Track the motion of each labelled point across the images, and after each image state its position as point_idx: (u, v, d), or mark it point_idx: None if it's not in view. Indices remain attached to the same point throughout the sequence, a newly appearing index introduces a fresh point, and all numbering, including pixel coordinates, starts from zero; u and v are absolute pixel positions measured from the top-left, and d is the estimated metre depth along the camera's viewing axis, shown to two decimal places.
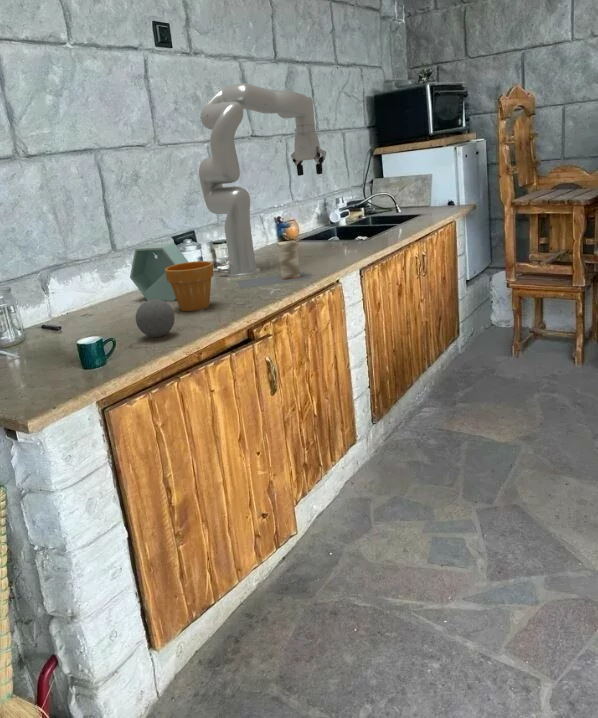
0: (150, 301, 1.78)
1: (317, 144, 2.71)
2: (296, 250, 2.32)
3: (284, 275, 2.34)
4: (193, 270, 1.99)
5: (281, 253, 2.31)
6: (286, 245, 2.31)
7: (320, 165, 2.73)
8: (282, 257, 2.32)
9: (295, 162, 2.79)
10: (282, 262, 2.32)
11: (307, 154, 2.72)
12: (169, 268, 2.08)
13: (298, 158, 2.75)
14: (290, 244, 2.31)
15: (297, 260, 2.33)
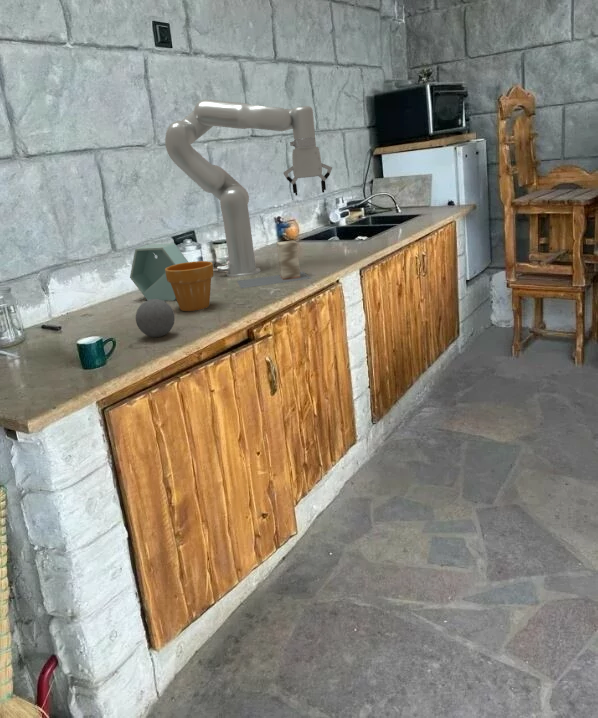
0: (150, 301, 1.78)
1: None
2: (296, 250, 2.32)
3: (284, 275, 2.34)
4: (193, 270, 1.99)
5: (281, 253, 2.31)
6: (286, 245, 2.31)
7: None
8: (282, 257, 2.32)
9: (291, 180, 2.44)
10: (282, 262, 2.32)
11: (313, 170, 2.41)
12: (169, 268, 2.08)
13: (299, 175, 2.41)
14: (290, 244, 2.31)
15: (297, 260, 2.33)
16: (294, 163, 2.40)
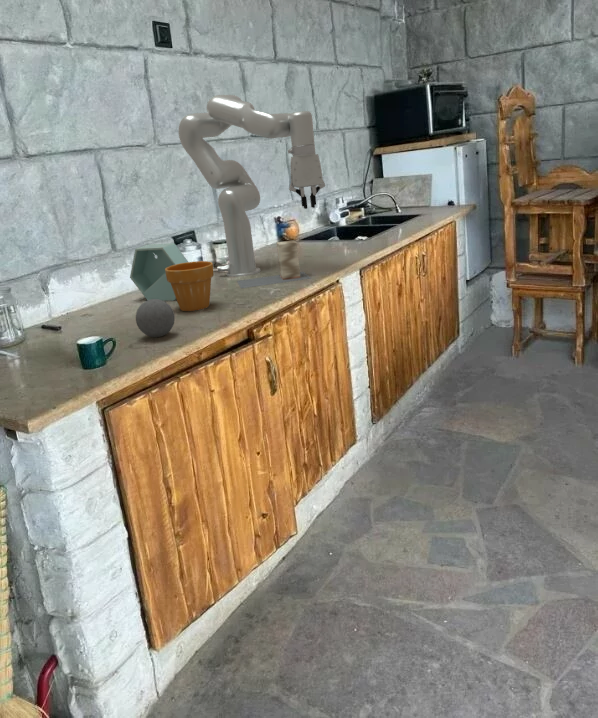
0: (150, 301, 1.78)
1: None
2: (296, 250, 2.32)
3: (284, 275, 2.34)
4: (193, 270, 1.99)
5: (281, 253, 2.31)
6: (286, 245, 2.31)
7: None
8: (282, 257, 2.32)
9: None
10: (282, 262, 2.32)
11: (313, 179, 2.26)
12: (169, 268, 2.08)
13: (300, 184, 2.26)
14: (290, 244, 2.31)
15: (297, 260, 2.33)
16: (294, 172, 2.25)
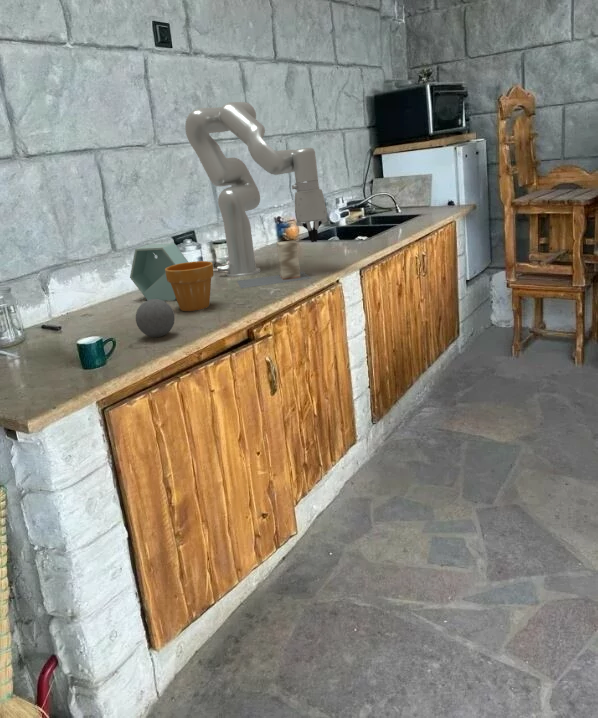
0: (150, 301, 1.78)
1: None
2: (296, 250, 2.32)
3: (284, 275, 2.34)
4: (193, 270, 1.99)
5: (281, 253, 2.31)
6: (286, 245, 2.31)
7: (317, 231, 2.34)
8: (282, 257, 2.32)
9: None
10: (282, 262, 2.32)
11: (317, 214, 2.30)
12: (169, 268, 2.08)
13: (304, 219, 2.29)
14: (290, 244, 2.31)
15: (297, 260, 2.33)
16: (298, 207, 2.28)
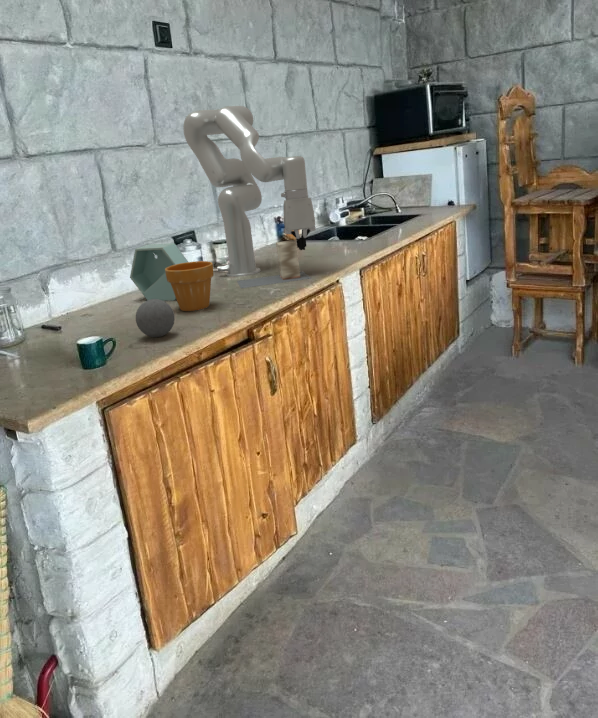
0: (150, 301, 1.78)
1: None
2: (296, 250, 2.32)
3: (284, 275, 2.34)
4: (193, 270, 1.99)
5: (281, 253, 2.31)
6: (285, 245, 2.31)
7: None
8: (282, 257, 2.32)
9: (295, 237, 2.33)
10: (282, 262, 2.32)
11: (306, 222, 2.30)
12: (169, 268, 2.08)
13: (292, 228, 2.30)
14: (289, 244, 2.31)
15: (297, 260, 2.33)
16: (287, 215, 2.28)
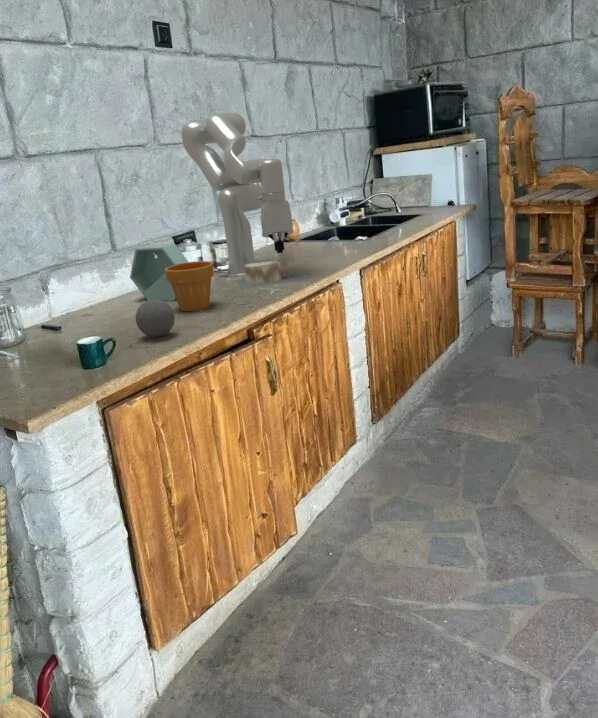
0: (150, 301, 1.78)
1: None
2: (254, 267, 2.31)
3: (278, 278, 2.33)
4: (193, 270, 1.99)
5: (256, 282, 2.32)
6: (249, 277, 2.31)
7: None
8: (260, 281, 2.33)
9: None
10: (265, 281, 2.33)
11: (283, 225, 2.29)
12: (169, 268, 2.08)
13: (270, 231, 2.29)
14: (248, 273, 2.31)
15: (264, 266, 2.31)
16: (264, 218, 2.27)
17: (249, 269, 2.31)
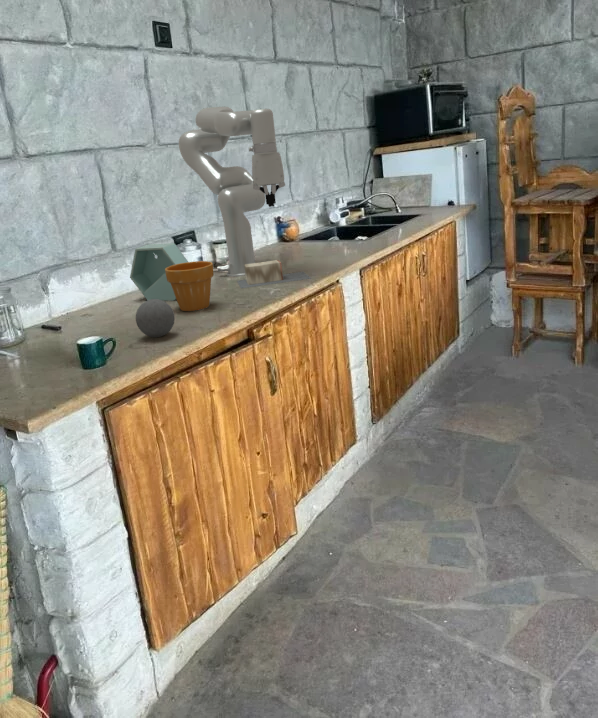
0: (150, 301, 1.78)
1: None
2: (254, 267, 2.31)
3: (278, 278, 2.33)
4: (193, 270, 1.99)
5: (256, 282, 2.32)
6: (249, 277, 2.31)
7: (274, 195, 2.29)
8: (260, 281, 2.33)
9: (263, 193, 2.27)
10: (265, 281, 2.33)
11: (274, 177, 2.25)
12: (169, 268, 2.08)
13: (261, 183, 2.24)
14: (248, 273, 2.31)
15: (264, 266, 2.31)
16: (254, 170, 2.23)
17: (249, 269, 2.31)
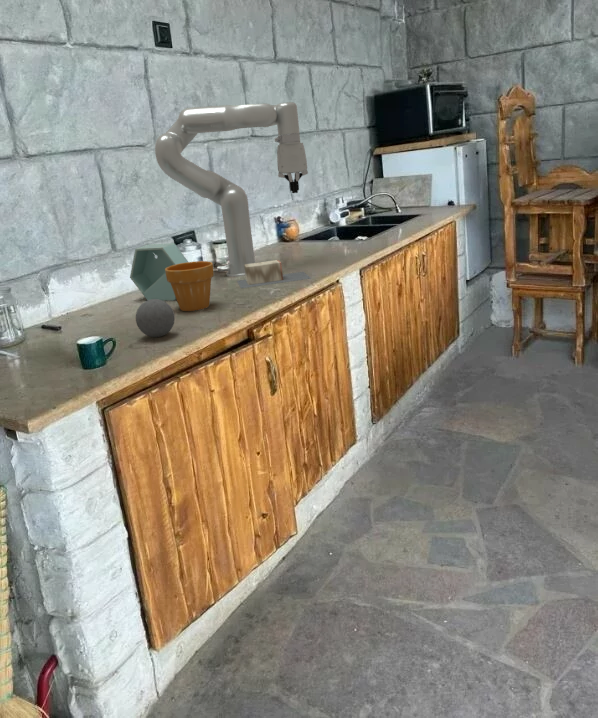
0: (150, 301, 1.78)
1: None
2: (254, 267, 2.31)
3: (278, 278, 2.33)
4: (193, 270, 1.99)
5: (256, 282, 2.32)
6: (249, 277, 2.31)
7: None
8: (260, 281, 2.33)
9: (288, 180, 2.46)
10: (265, 281, 2.33)
11: (298, 166, 2.43)
12: (169, 268, 2.08)
13: (285, 171, 2.43)
14: (248, 273, 2.31)
15: (264, 266, 2.31)
16: (280, 159, 2.41)
17: (249, 269, 2.31)
